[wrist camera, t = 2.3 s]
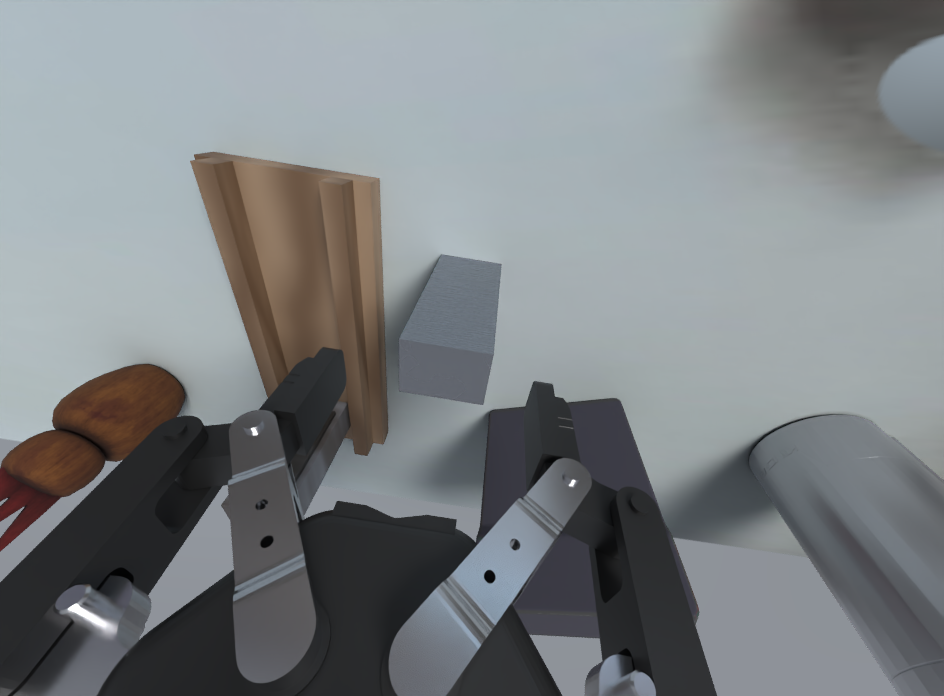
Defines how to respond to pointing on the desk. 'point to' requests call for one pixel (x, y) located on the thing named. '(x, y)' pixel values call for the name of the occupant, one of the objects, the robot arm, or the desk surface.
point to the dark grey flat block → (568, 563)
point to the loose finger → (452, 332)
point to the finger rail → (305, 285)
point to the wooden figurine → (85, 439)
